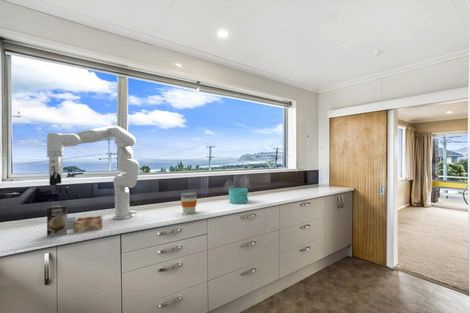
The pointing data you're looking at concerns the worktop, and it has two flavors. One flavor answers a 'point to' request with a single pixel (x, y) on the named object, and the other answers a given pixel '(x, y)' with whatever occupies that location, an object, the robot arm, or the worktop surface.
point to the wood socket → (88, 223)
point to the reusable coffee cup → (188, 202)
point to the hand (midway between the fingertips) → (55, 184)
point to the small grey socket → (71, 222)
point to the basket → (238, 195)
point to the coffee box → (56, 220)
